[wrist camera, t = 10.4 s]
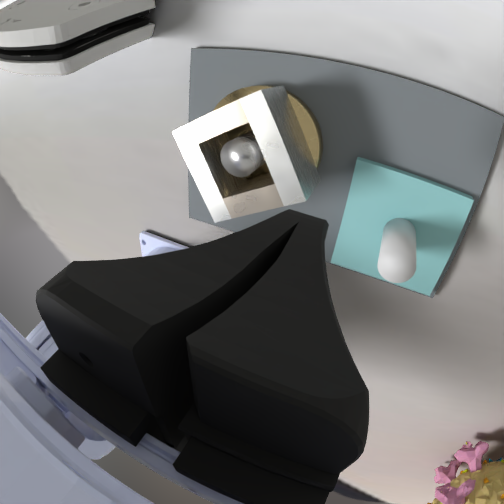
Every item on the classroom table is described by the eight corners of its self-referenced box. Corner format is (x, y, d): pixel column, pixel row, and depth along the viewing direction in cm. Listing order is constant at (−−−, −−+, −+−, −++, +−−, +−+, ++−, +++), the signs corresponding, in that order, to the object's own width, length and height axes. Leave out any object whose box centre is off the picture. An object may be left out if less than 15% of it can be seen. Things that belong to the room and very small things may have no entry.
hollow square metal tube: (321, 180, 17) (306, 201, 15) (238, 201, 20) (214, 222, 18) (283, 85, 15) (260, 89, 13) (202, 120, 18) (172, 132, 16)
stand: (429, 290, 19) (429, 333, 16) (332, 257, 21) (316, 295, 18) (471, 196, 14) (486, 229, 11) (357, 156, 16) (346, 179, 13)
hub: (312, 208, 19) (294, 236, 17) (212, 181, 21) (181, 202, 19) (331, 96, 15) (316, 103, 13) (217, 79, 17) (181, 85, 15)
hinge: (173, -26, 14) (38, 23, 9) (169, 31, 18) (53, 95, 13) (50, -25, 16) (-39, 20, 11) (54, 12, 20) (-28, 60, 15)
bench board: (432, 294, 19) (432, 298, 19) (192, 215, 24) (189, 217, 24) (502, 116, 12) (505, 117, 11) (194, 48, 17) (191, 48, 17)
